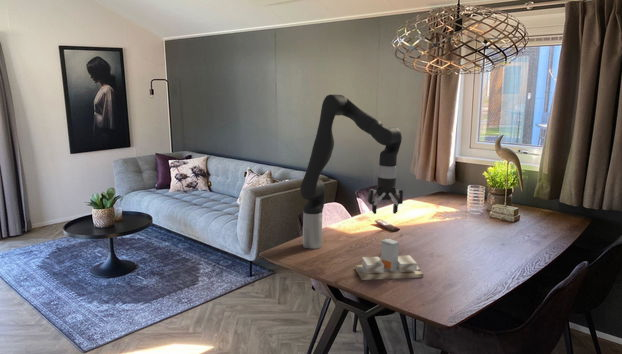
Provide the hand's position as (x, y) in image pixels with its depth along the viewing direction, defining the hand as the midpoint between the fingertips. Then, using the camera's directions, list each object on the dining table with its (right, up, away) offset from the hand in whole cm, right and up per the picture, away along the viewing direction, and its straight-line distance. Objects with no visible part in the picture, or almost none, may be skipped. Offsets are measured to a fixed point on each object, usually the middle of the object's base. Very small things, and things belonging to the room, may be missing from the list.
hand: (384, 213), depth 197 cm
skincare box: (+2, -23, 0) cm, 23 cm away
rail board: (+2, -25, 0) cm, 25 cm away
